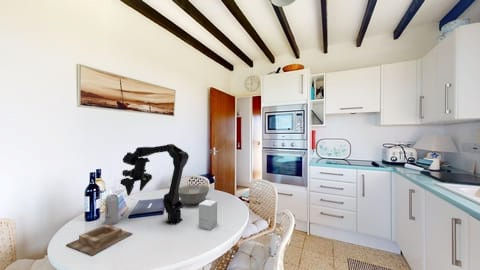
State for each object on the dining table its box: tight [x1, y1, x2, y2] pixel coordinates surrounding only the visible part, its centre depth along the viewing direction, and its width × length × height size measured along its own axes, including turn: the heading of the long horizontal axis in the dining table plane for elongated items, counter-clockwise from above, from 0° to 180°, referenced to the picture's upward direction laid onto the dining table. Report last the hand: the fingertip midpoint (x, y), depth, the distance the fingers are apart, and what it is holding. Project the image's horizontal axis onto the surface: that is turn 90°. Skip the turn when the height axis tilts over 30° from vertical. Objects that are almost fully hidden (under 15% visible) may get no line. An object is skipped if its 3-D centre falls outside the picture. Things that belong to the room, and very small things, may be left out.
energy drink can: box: [104, 193, 119, 226], centre depth 105 cm, size 6×6×15 cm
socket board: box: [65, 224, 134, 257], centre depth 89 cm, size 18×18×4 cm
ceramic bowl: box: [178, 184, 210, 205], centre depth 136 cm, size 22×23×10 cm
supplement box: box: [198, 199, 218, 231], centre depth 103 cm, size 7×7×13 cm
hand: (134, 192), depth 114 cm, fingers open, 9 cm apart
